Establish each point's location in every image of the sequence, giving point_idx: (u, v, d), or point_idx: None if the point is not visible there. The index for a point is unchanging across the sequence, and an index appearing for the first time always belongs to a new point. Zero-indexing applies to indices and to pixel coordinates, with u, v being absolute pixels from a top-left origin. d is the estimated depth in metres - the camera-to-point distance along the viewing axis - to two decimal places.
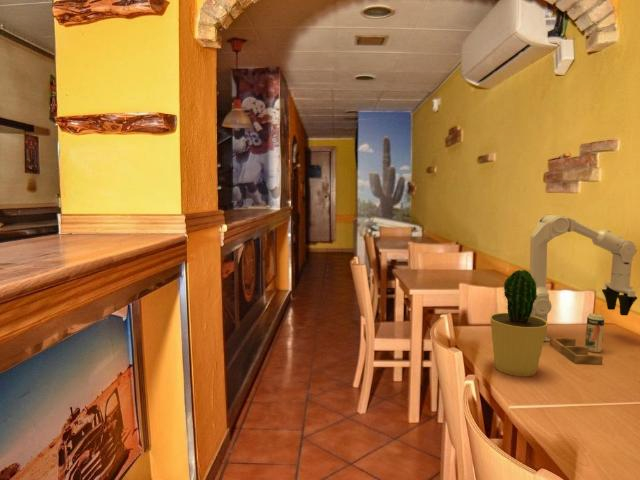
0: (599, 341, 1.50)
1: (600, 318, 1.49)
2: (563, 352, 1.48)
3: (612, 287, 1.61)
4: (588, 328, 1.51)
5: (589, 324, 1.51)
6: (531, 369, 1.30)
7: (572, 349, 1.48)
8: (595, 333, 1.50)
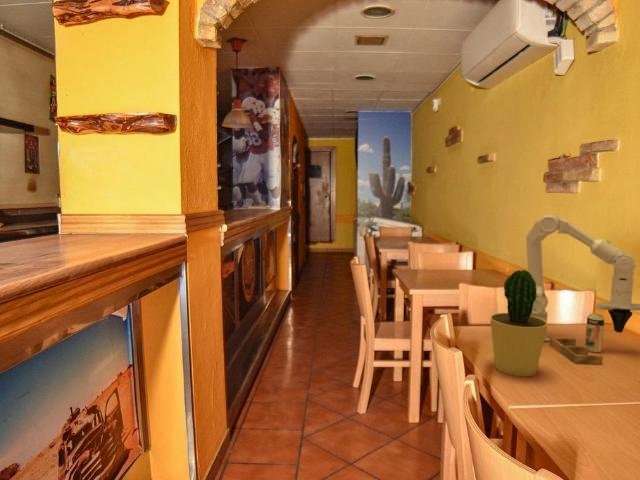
0: (599, 341, 1.50)
1: (600, 318, 1.49)
2: (563, 352, 1.48)
3: None
4: (588, 328, 1.51)
5: (589, 324, 1.51)
6: (531, 369, 1.30)
7: (572, 349, 1.48)
8: (595, 333, 1.50)
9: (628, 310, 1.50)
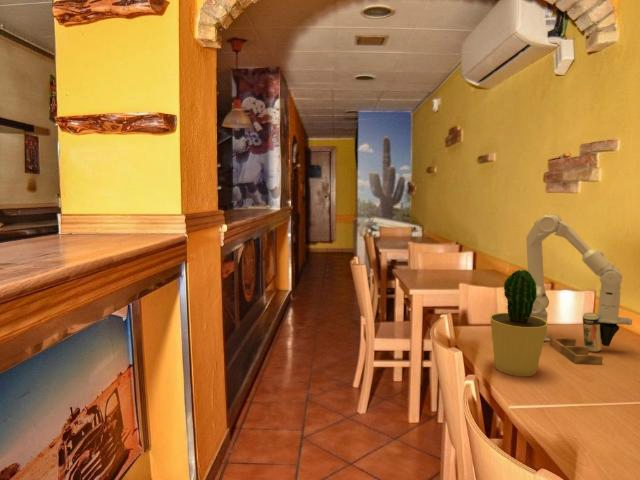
0: (597, 340, 1.50)
1: (595, 317, 1.49)
2: (563, 352, 1.48)
3: None
4: (585, 328, 1.52)
5: (585, 324, 1.51)
6: (531, 369, 1.30)
7: (572, 349, 1.48)
8: (592, 332, 1.50)
9: (615, 324, 1.51)
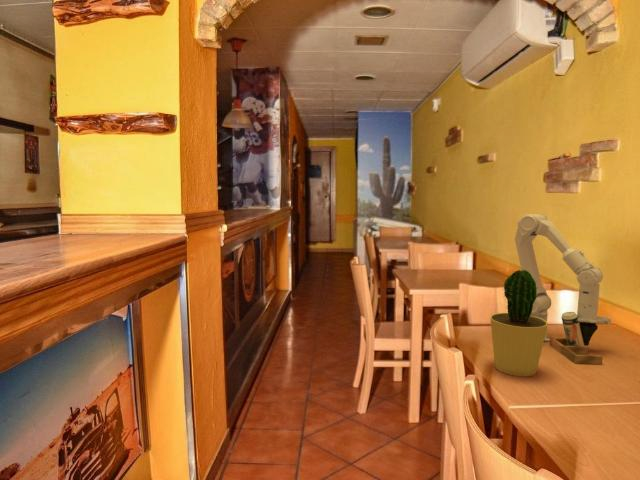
0: (579, 338, 1.50)
1: (573, 316, 1.49)
2: (563, 352, 1.48)
3: None
4: (565, 328, 1.51)
5: (565, 325, 1.51)
6: (531, 369, 1.30)
7: (572, 349, 1.48)
8: (573, 332, 1.50)
9: (594, 323, 1.51)
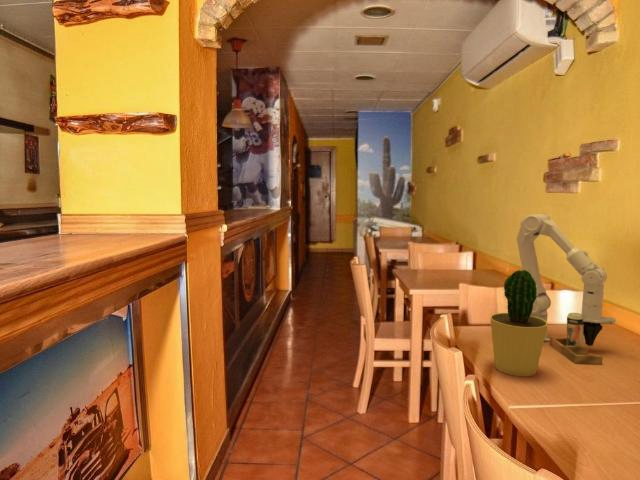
0: (580, 340, 1.50)
1: (580, 317, 1.49)
2: (563, 352, 1.48)
3: None
4: (569, 328, 1.51)
5: (569, 324, 1.51)
6: (531, 369, 1.30)
7: (572, 349, 1.48)
8: (576, 332, 1.50)
9: (598, 323, 1.51)
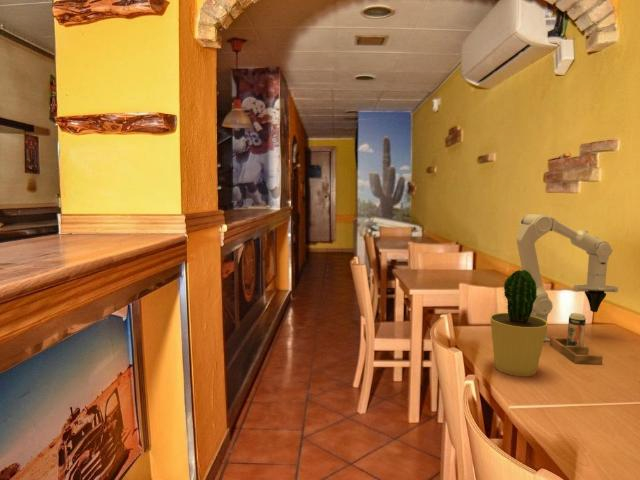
0: (581, 341, 1.50)
1: (582, 318, 1.49)
2: (563, 352, 1.48)
3: None
4: (570, 328, 1.51)
5: (571, 324, 1.51)
6: (531, 369, 1.30)
7: (572, 349, 1.48)
8: (577, 333, 1.50)
9: (602, 291, 1.64)
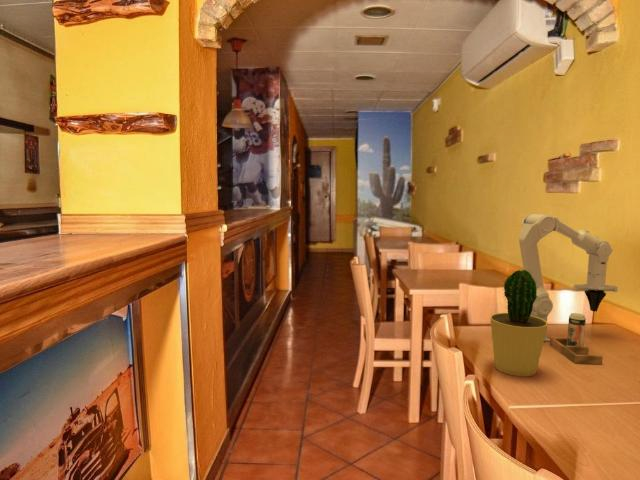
0: (581, 341, 1.50)
1: (582, 318, 1.49)
2: (563, 352, 1.48)
3: None
4: (570, 328, 1.51)
5: (571, 324, 1.51)
6: (531, 369, 1.30)
7: (572, 349, 1.48)
8: (577, 333, 1.50)
9: (602, 291, 1.65)
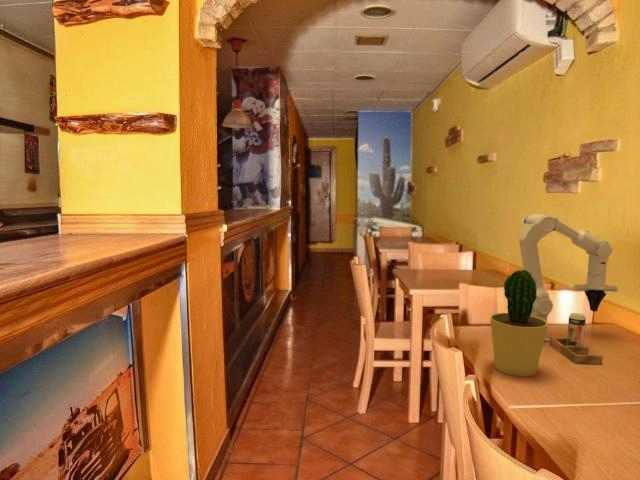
0: (581, 341, 1.50)
1: (582, 318, 1.49)
2: (563, 352, 1.48)
3: None
4: (570, 328, 1.51)
5: (571, 324, 1.51)
6: (531, 369, 1.30)
7: (572, 349, 1.48)
8: (577, 333, 1.50)
9: (602, 291, 1.65)
